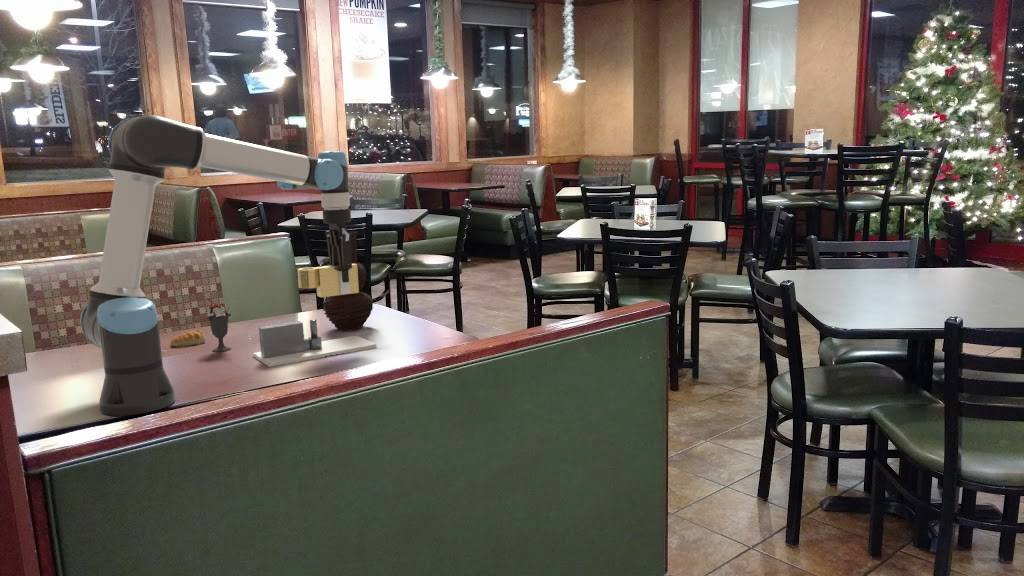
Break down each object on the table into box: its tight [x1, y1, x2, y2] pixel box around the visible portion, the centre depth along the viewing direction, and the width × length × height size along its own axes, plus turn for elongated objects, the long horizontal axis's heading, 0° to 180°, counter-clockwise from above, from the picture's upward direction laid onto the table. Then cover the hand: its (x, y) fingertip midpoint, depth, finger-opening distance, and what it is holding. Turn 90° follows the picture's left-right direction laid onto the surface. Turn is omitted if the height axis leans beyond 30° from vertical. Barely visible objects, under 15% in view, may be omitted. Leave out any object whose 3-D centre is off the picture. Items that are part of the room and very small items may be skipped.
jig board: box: [252, 335, 377, 368], centre depth 218 cm, size 30×14×1 cm, turn 124°
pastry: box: [170, 329, 206, 348], centre depth 233 cm, size 9×7×4 cm
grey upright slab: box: [258, 318, 322, 358], centre depth 214 cm, size 16×4×8 cm, turn 124°
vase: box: [322, 230, 374, 332], centre depth 244 cm, size 15×15×30 cm
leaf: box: [297, 263, 359, 298], centre depth 217 cm, size 16×5×8 cm, turn 124°
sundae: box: [205, 298, 232, 353], centre depth 223 cm, size 7×7×15 cm
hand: (342, 292), depth 220 cm, fingers closed on leaf, 3 cm apart
